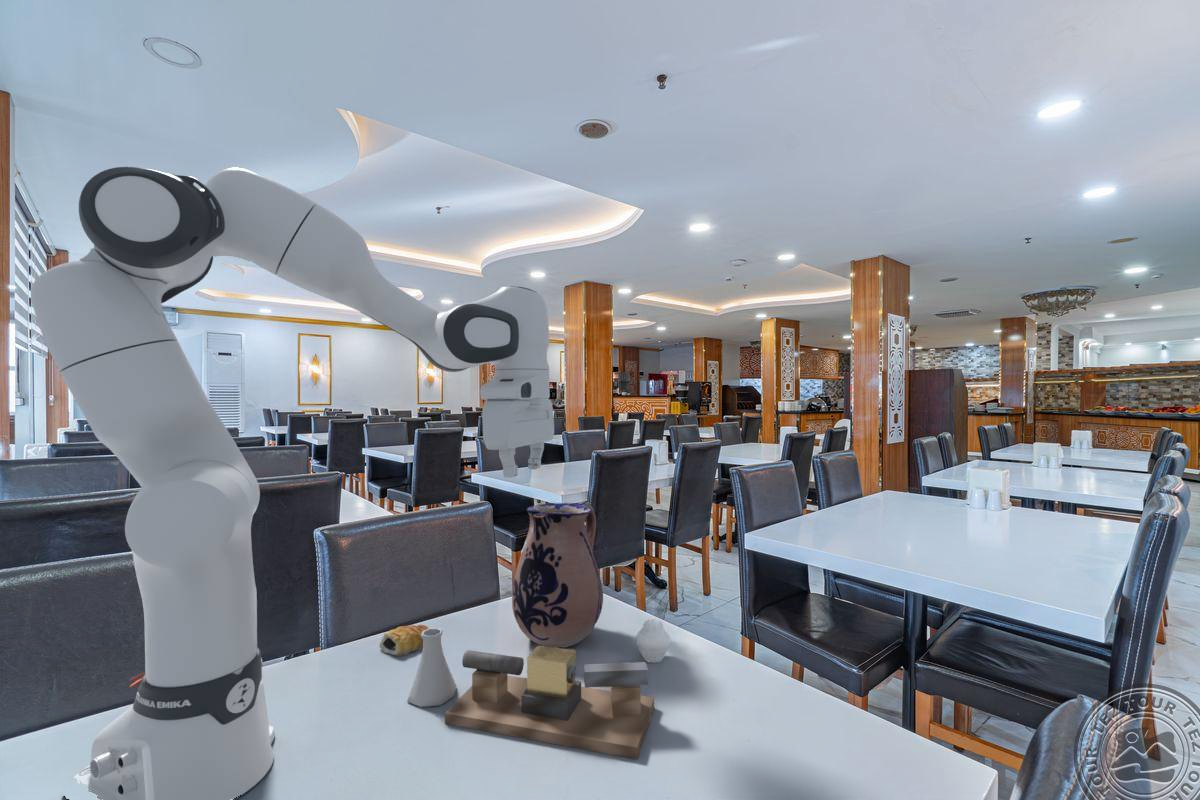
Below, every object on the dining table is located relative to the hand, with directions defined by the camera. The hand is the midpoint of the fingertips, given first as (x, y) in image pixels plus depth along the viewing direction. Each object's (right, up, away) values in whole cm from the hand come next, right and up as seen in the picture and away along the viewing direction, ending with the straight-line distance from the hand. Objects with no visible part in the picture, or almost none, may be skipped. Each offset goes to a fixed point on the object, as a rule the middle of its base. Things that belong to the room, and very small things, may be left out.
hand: (523, 472), depth 89 cm
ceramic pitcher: (+5, -34, +18) cm, 39 cm away
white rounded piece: (+22, -34, +7) cm, 41 cm away
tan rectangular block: (+6, -30, -10) cm, 32 cm away
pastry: (-24, -35, +13) cm, 44 cm away
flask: (-14, -35, -4) cm, 37 cm away
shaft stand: (+6, -34, -10) cm, 36 cm away
